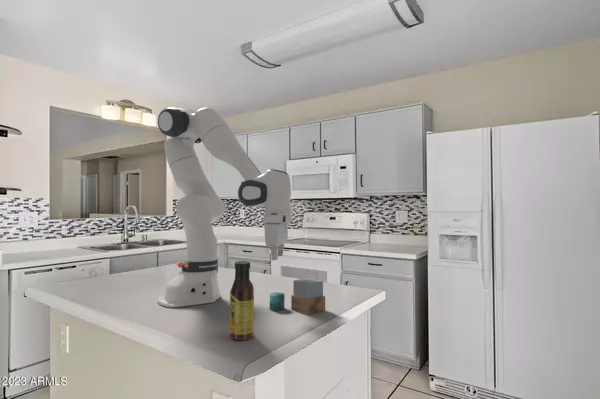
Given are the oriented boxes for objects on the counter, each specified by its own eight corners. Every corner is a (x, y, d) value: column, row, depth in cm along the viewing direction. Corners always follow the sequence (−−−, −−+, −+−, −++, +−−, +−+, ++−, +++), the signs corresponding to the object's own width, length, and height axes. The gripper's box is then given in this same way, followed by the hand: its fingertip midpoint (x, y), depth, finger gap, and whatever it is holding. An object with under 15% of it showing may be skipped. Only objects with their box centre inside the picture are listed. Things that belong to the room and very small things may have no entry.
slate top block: (306, 299, 114) (307, 283, 114) (293, 295, 119) (293, 280, 119) (323, 296, 118) (323, 281, 118) (309, 292, 124) (309, 277, 124)
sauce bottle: (231, 333, 97) (231, 259, 97) (254, 332, 97) (254, 259, 98) (228, 342, 90) (228, 263, 91) (253, 341, 91) (253, 263, 91)
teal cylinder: (275, 312, 117) (275, 296, 117) (266, 308, 120) (266, 293, 120) (287, 309, 120) (287, 294, 120) (278, 306, 124) (278, 291, 124)
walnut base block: (307, 315, 113) (307, 300, 113) (291, 310, 119) (291, 295, 119) (325, 311, 118) (325, 296, 118) (309, 306, 124) (309, 291, 124)
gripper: (275, 216, 132) (274, 253, 131) (261, 217, 111) (261, 262, 111) (292, 216, 131) (291, 254, 130) (281, 218, 110) (280, 262, 110)
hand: (277, 257), depth 121 cm, fingers open, 8 cm apart
